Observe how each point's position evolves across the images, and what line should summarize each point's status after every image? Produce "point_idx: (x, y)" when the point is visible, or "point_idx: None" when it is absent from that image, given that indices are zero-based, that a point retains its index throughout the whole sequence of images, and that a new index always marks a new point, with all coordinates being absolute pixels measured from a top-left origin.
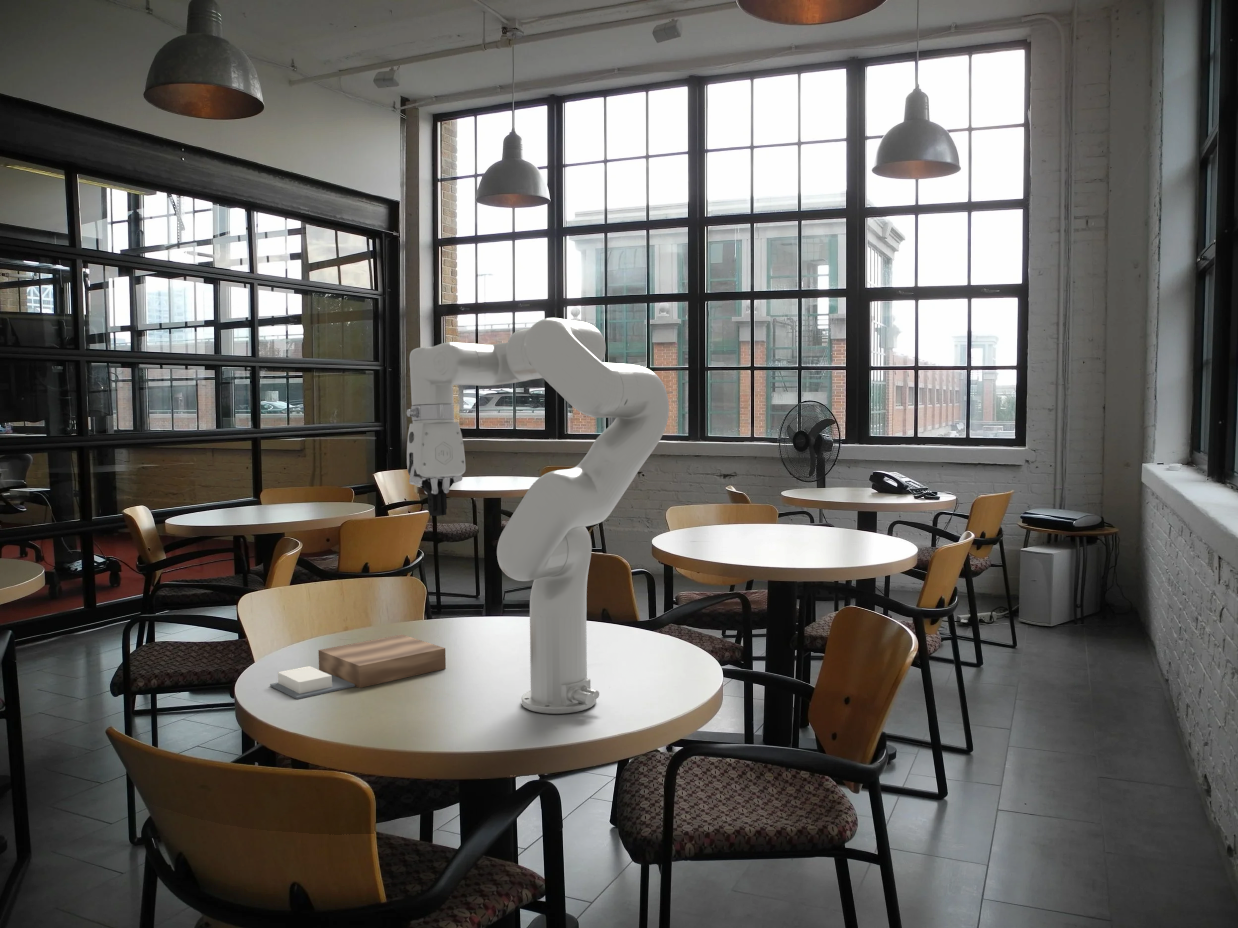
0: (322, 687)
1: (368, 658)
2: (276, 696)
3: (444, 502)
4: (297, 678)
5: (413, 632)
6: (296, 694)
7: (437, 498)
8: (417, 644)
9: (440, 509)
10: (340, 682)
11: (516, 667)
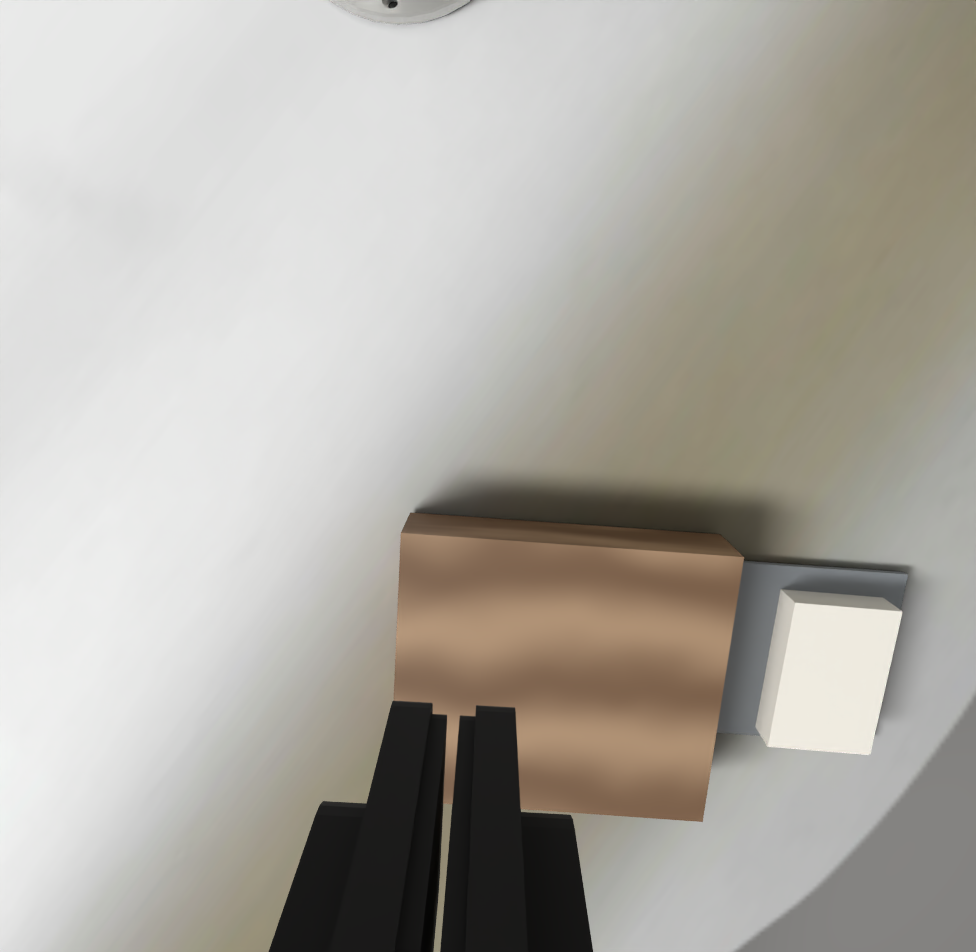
0: (812, 592)
1: (665, 613)
2: (911, 647)
3: (393, 822)
4: (878, 652)
5: (212, 946)
6: (893, 596)
7: (524, 927)
8: (438, 646)
9: (488, 749)
10: (736, 609)
11: (226, 355)
